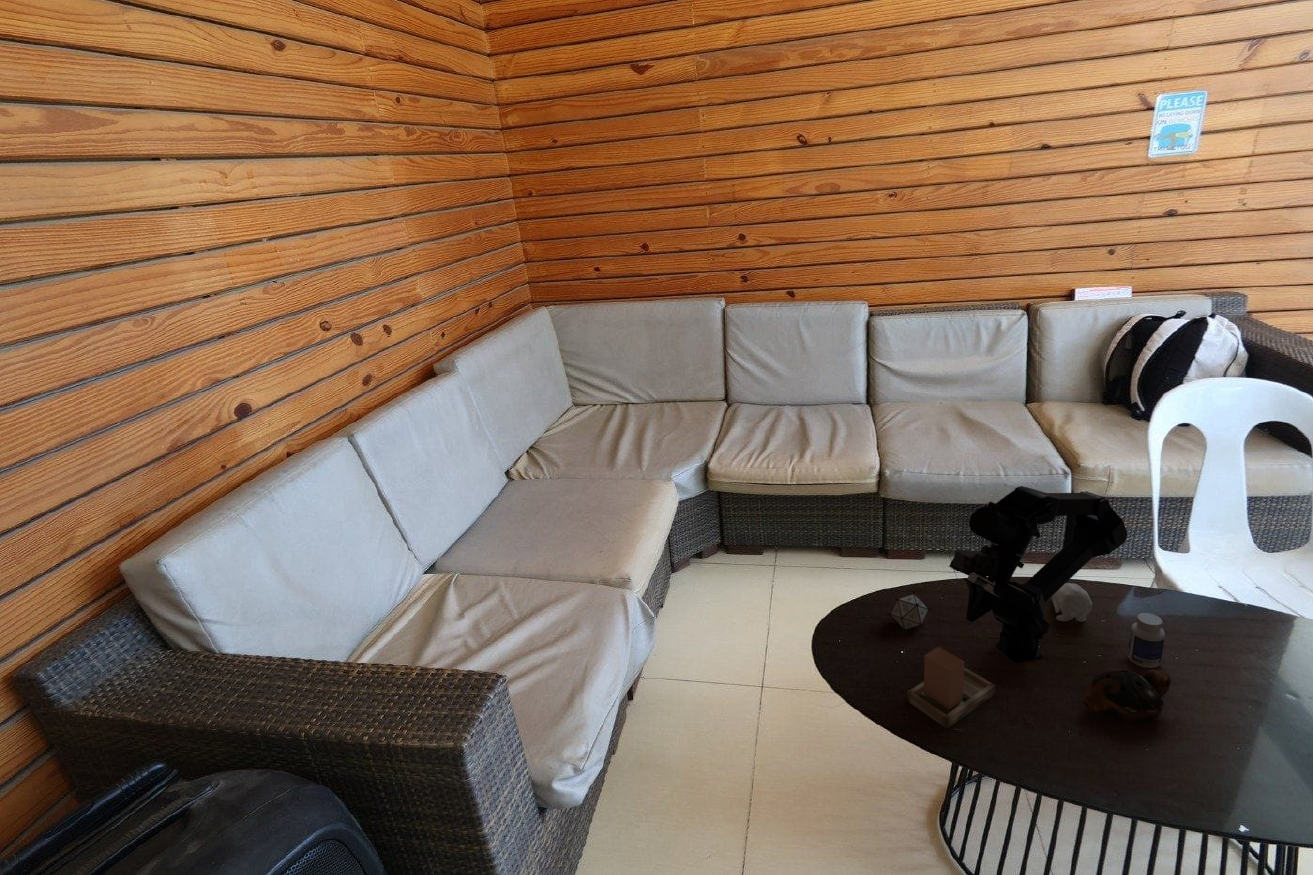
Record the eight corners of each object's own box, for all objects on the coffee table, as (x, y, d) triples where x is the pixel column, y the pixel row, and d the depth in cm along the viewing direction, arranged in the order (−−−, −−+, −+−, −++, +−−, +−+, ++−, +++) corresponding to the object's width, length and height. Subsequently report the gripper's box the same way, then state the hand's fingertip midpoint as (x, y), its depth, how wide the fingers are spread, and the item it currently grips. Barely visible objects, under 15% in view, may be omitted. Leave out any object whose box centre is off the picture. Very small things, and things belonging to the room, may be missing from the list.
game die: (917, 643, 152) (936, 629, 143) (880, 631, 152) (897, 616, 144) (920, 607, 157) (939, 591, 148) (884, 596, 157) (901, 579, 149)
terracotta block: (937, 684, 132) (938, 646, 129) (962, 700, 127) (964, 661, 124) (923, 693, 130) (924, 655, 127) (949, 710, 125) (950, 670, 122)
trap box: (953, 670, 137) (954, 661, 136) (994, 694, 130) (995, 685, 129) (906, 701, 131) (907, 692, 130) (947, 728, 123) (947, 719, 123)
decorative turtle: (1185, 720, 119) (1192, 685, 116) (1107, 743, 117) (1112, 709, 114) (1140, 681, 128) (1145, 649, 125) (1067, 702, 126) (1070, 670, 123)
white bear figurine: (1062, 592, 143) (1043, 567, 154) (1060, 628, 145) (1041, 600, 156) (1095, 592, 141) (1073, 567, 153) (1093, 628, 143) (1071, 601, 155)
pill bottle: (1167, 667, 131) (1174, 625, 128) (1138, 670, 131) (1145, 628, 128) (1148, 650, 136) (1154, 609, 133) (1121, 652, 136) (1126, 611, 133)
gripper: (946, 520, 137) (911, 587, 138) (1003, 548, 119) (962, 625, 120) (990, 541, 139) (955, 607, 140) (1053, 572, 121) (1012, 648, 122)
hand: (969, 620), depth 131 cm, fingers closed
